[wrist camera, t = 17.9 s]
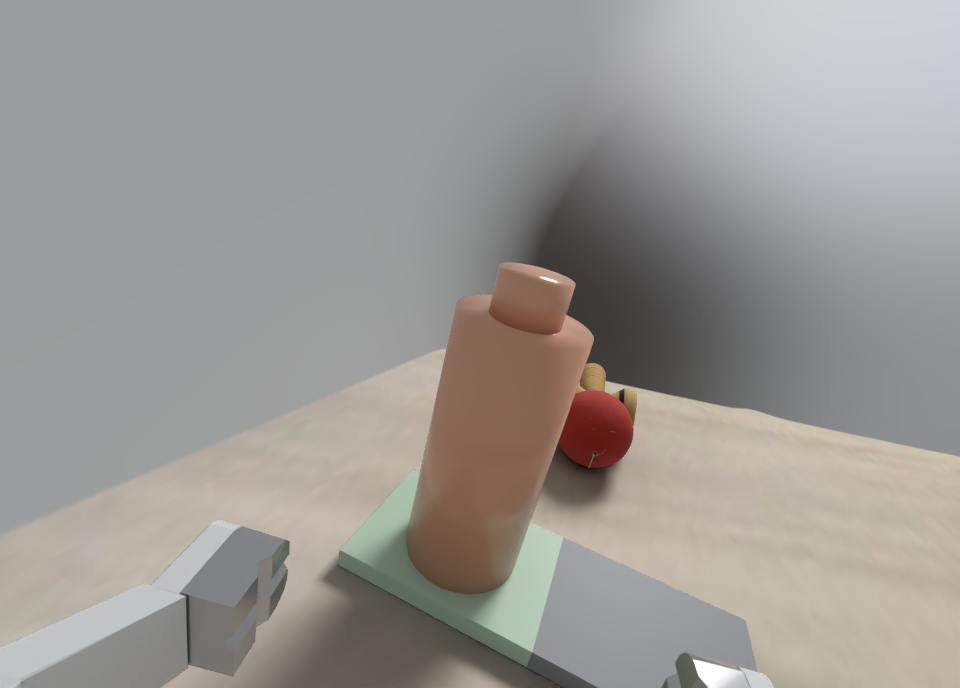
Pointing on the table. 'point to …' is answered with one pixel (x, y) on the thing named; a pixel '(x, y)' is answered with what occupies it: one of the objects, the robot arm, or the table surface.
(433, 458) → the bottle
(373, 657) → the table surface
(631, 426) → the kendama
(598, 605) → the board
